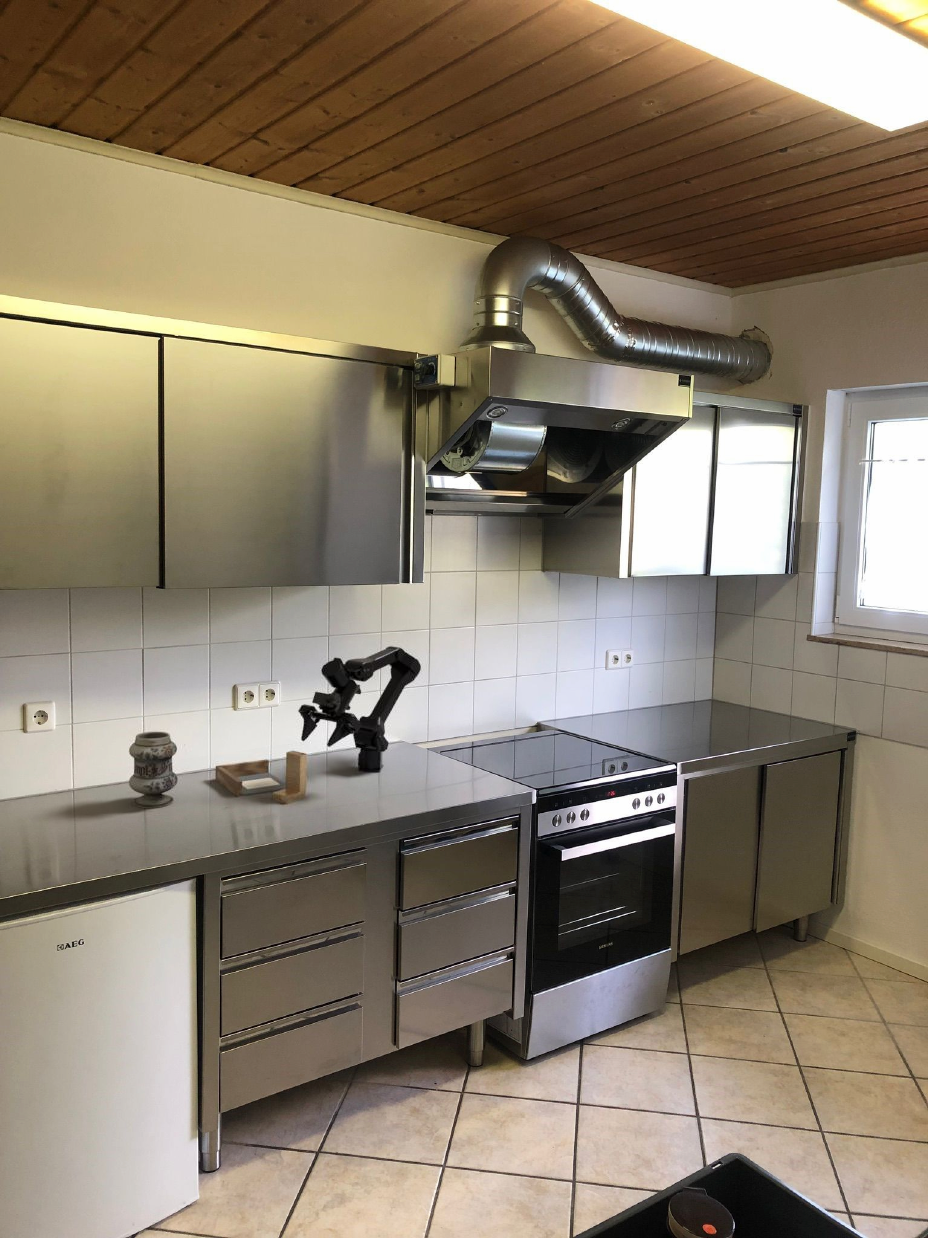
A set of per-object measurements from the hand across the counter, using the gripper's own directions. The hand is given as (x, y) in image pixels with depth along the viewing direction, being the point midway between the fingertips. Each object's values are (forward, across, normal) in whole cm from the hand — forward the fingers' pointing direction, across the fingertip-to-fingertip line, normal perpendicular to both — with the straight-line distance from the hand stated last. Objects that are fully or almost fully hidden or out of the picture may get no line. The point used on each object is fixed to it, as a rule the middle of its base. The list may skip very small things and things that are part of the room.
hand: (315, 743), depth 264 cm
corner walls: (+14, -16, +4) cm, 22 cm away
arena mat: (+14, -15, +5) cm, 21 cm away
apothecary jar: (+34, -25, -15) cm, 44 cm away
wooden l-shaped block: (+16, 0, +2) cm, 17 cm away
